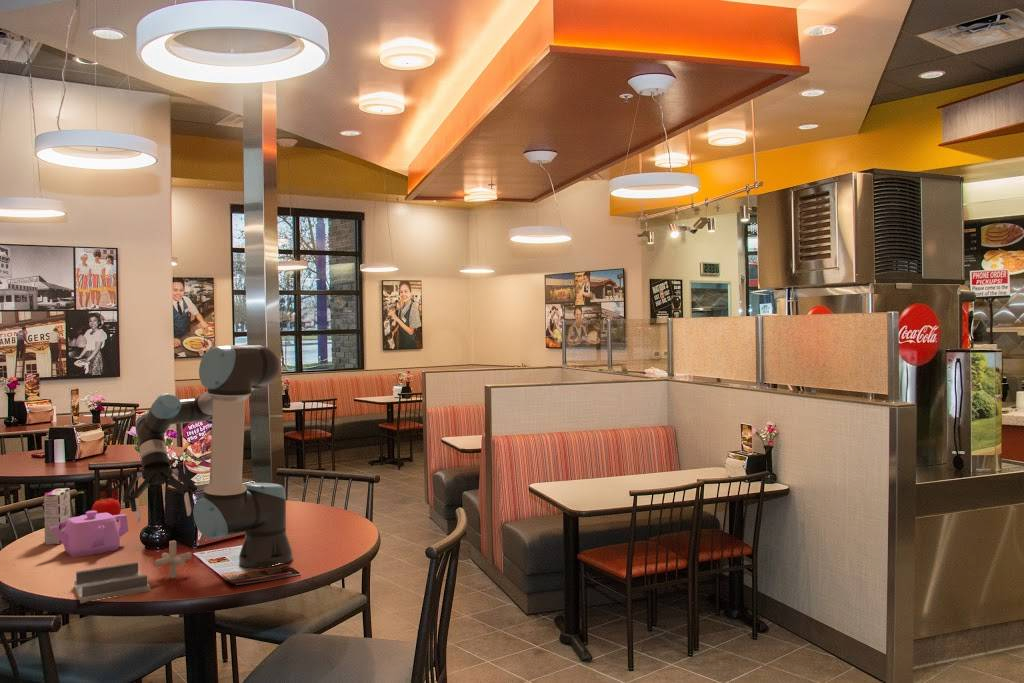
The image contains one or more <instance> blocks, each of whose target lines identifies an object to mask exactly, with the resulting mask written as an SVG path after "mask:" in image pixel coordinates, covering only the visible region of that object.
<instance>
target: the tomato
mask: <svg viewBox="0 0 1024 683" xmlns="http://www.w3.org/2000/svg"><path fill="white" fill-rule="evenodd" d="M121 506H122V505H121V503H120V501H119V500H118V499H115V498H113V497H112V496H111V497H109V498H106V497H104V498H100V499H98V500H96V501H95V502H94V504H92V506H91V510H90V511H97V514H98V513H109V514H111V515H121V510H122V508H121Z"/></svg>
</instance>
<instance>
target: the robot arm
mask: <svg viewBox="0 0 1024 683" xmlns="http://www.w3.org/2000/svg"><path fill="white" fill-rule="evenodd" d="M280 370H281V363H280V359H279V357H278V355H277V354H276V352H275V351H273V350H272V349H270V348H269V347H267V346H264V345H261V344H255V345H254V344H253V345H252V344H250V345H246V344H245V345H244V344H243V345H219V346H213V347H211V348H209V349H208V350H207V351H206V352H204V354H203V356H202V357H201V359H200V363H199V368H198V376H199V379H200V383H201V384H202V386H203V387H204V388H206V389H207V390H206V391H205V392H203V393H202V394H201V395H199V396H197V397H194V398H183V399H181V398H178V397H177V395H175V394H170V393H162V394H160V395H159V396H157V398H156V399H155V400H154V401H153V403H152V404H151V407H150V409H149V410H148V412H147V413H144V414H142V415H141V416H138V417H137V419H136V420H135V433H136V439H137V444H138V449H139V456H140V460H141V462H140V463H141V468H142V469H141V470H142V472H140V471H139V472H138V471H137V470H133V471H132V473H131V480H130V481H129V483H128V486H126V489H125V491H124V494H123V496H122V502H123V503H129V505H130V510H131V512H132V513H135V518H136V523H141V518H142V515H141V514H142V513H141V508H140V502H139V497H140V496H141V495H142V494H143V493H144V491H146V489H148V488H149V486H150V485H152V486H156V485H157V486H158V485H165V484H166V485H167V486H171V487H172V488H174V489H175V490H177V491H178V492H179V493H181V494H183V496H184V497H183V498H184V500H183V501H184V506H185V510H186V516H187V517H189V516H191V513H192V510H193V520H194V523H195V526H196V527H197V529H198V531H199V533H201V534H202V535H203V536H204V537H205V538H207V539H210V540H214V539H220V538H226V537H229V536H233V535H236V534H240V533H244V534H245V535H244V540H243V543H242V546H241V548H240V551H239V555H238V559H239V561H238V562H239V563H238V564H239V565H240V566H241V567H244V568H248V567H250V568H251V569H260V568H259V567H266V568H270V567H269V566H272V565H275V564H278V563H285V564H287V563H290V562H291V561H292V560H293V549H292V546H291V543H290V541H289V538H288V535H287V520H286V519H287V518H286V517H287V516H286V512H287V511H286V508H287V507H286V500H287V495H286V489H285V487H284V485H282V484H278V483H271V482H248V483H245V484H244V483H243V463H244V461H243V460H244V443H245V442H244V440H245V439H244V438H245V437H244V436H245V418H246V417H245V416H246V400H247V399H248V398H249V397H251V395H252V392H253V391H254V390H261V389H264V388H266V387H267V386H269V385H271V384H272V383H273V382H274V381H276V380H277V377H279V374H280ZM209 421H211V437H210V438H211V439H210V441H211V444H210V464H209V465H210V466H209V483H208V484H206V486H205V487H204V488H203V492H202V494H203V495H202V497H201V498H199V499H198V500H196V502H195V503H194V505H193V502H194V498H193V495H197V491H198V487H197V485H196V484H195V483H194V482H193V481H192V480H191V479H190V478H189V477H188V476H187V474H185V472H184V471H183V468H182V466H177V468H171V467H170V465H171V464H170V460H169V456H168V455H169V454H168V451H167V445H166V439H165V434H166V433H167V431H168V429H169V428H170V427H171V425H176V424H187V423H197V422H209ZM173 475H175V476H173ZM176 477H177V478H178V479H177V478H176ZM141 478H142V479H143V482H141V483H140V485H139V486H138V487H137V488H136V490H135V491H134V492H133V490H134V488H135V485H136V483H137V481H139V480H140V479H141ZM179 480H180V481H179ZM132 492H133V493H132ZM131 493H132V494H131ZM191 505H193V509H192V506H191Z"/></svg>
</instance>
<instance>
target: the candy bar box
mask: <svg viewBox="0 0 1024 683" xmlns="http://www.w3.org/2000/svg"><path fill="white" fill-rule="evenodd" d="M43 517H44V520H43V521H44V545H45V546H53V545H54V546H55V545H61V544H62V543H61V541H60V540H59V539H58V538H57V536H56V535H55V534H54V533H53V532H52V530H51V529H50V528H51V527H54V526H57V527H58V528H59V529H60V530H61V531H62V532H63V533H65V527H66V523H67V519H68V518H72V514H71V488H69V487H64V488H63V487H62V488H54V489H52V490H51V491H49V492H48V493H46V494H45V495H43Z"/></svg>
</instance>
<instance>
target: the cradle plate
mask: <svg viewBox="0 0 1024 683" xmlns="http://www.w3.org/2000/svg"><path fill="white" fill-rule="evenodd" d="M75 576H76V577H75V580H74V581H73V587H75V588H74V591H75V590H76V591H75V593H76V592H77V593H76V595H78V596H77V598H78V597H79V598H78V600H79V599H80V601H79V603H80V604H86V603H88V602H87V601H92V600H97V599H103V598H108V597H114V596H119V597H122V596H121V595H125V596H129V594H130V595H134V594H135V595H136V594H140V593H141V594H142V593H146V592H150V583H148V575H147V574H142V572H141V571H140V570H139V563H138V561H135V562H130V563H129V562H128V563H122V564H116V565H110V566H104V567H98V568H97V567H96V568H91V569H84V570H78V571H75ZM114 598H115V597H114ZM108 599H109V598H108ZM103 600H104V599H103ZM97 601H98V600H97ZM85 602H86V603H85ZM92 602H93V601H92Z"/></svg>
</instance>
